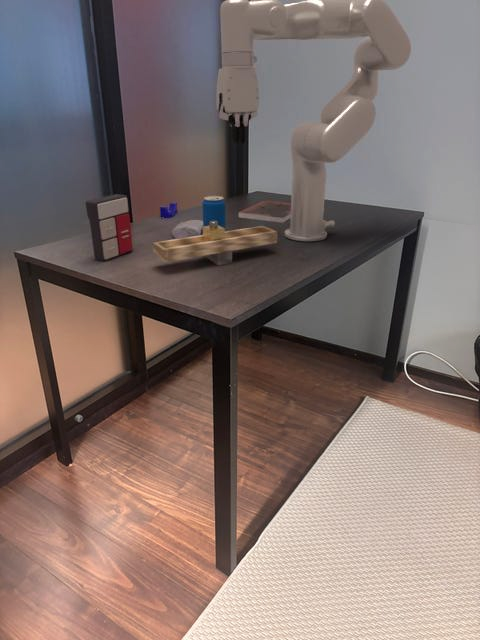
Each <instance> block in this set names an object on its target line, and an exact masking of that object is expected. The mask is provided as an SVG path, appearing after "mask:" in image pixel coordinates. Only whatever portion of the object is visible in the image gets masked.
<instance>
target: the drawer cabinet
mask: <svg viewBox="0 0 480 640" xmlns="http://www.w3.org/2000/svg"><path fill="white" fill-rule="evenodd" d="M128 201H129V200H128V196H127V195H126V194H125V195H124V194H119V193H118V194H117V193H116V194H112V195H111V194H110V195H107V196H101V197H98V198H94V199H89V200H86V201H85V208H86V216H87V218H88V220H89V225H90V232H91V233H90V234H91V239H92V247H93V248H92V249H93V255H94V260H96V261H101V262H106V261H108V260H112V259H114V258H116V257H120V256H123V255H124V254H127V253H130V252H132V251H133V238H132V226H131V218H130V217H131V216H130V211H129V202H128Z"/></svg>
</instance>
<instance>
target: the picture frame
mask: <svg viewBox="0 0 480 640" xmlns="http://www.w3.org/2000/svg"><path fill="white" fill-rule="evenodd" d="M238 218H242V219H249V220H250V219H251V220H257V221H267V222H273V223H285V222H286V221H288V220H290V218H291V202H290V203H289V202H280V201H272V200H263V201H260V202H259V203H256V204H254V205H251V206H249V207H247V208H245V209H243V210H241V211H239V212H238Z"/></svg>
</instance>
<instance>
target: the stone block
mask: <svg viewBox="0 0 480 640" xmlns="http://www.w3.org/2000/svg"><path fill="white" fill-rule="evenodd" d="M171 234H172V237H173V238H174V239H180V238H186V237H193V236H199V235H203V220H200V219H190V220H186V221H181V222H180V223H178V224H177V225H176V226H175V227H174V228H173V229H172V231H171Z"/></svg>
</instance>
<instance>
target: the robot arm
mask: <svg viewBox="0 0 480 640" xmlns="http://www.w3.org/2000/svg"><path fill="white" fill-rule="evenodd" d="M219 10H220V12H219V13H220V35H221V36H220V40H221V41H220V42H221V68H219V69H218V74H217V80H216V93H215V94H216V97H215V98H216V99H215V101H216V103H215V104H216V110H217V112H218V113H219V114H218V117H219V119H220V120H224V121H225V120H226V121H227V122H228V123H229V125H230V127H231V128H232V130H231V131H232V132H231V133H232V142H233V144H238V145H240V144H246V134H247V133H246V132H247V131H246V130H247V129H246V127H248V123H249V122H250V121H251V119H253V118H257V117H258V109H259V105H260V104H259V102H260V101H259V84H258V76H257V70H256V68H255V67H254V64H255V63H257V61H258V59H257V58H258V57H257V56H254V41H260V40H261V41H265V40H266V41H268V40H270V41H272V40H273V41H274V40H275V41H276V40H298V41H299V40H300V41H301V40H302V41H303V40H304V41H305V40H306V41H309V40H331V39H333V40H334V39H335V40H337V39H338V40H341V39H343V40H345V39H346V40H347V39H356V38H362V40H360V42H359V43H358V45H356V48H355V51H354V53H353V54H354V55H353V73H352V75H351V78H350V79H349V81H348V82H347V83H346V84H345V85H344V86H343V87H342V88H341V89H340V90H339V91H338V92H337V93H336V94H335V95H334V96H333V97H332V98H331V99H330V100H329V101H327V103H325V105H324V107H323V108H322V110H321V113H320V122H316V121H315V122H314V121H307V122H303V123H301V124H299V125H298V126H296V128H295V129H294V130H293V132H292V134H291V139H290V152H291V160H292V181H291V197H290V198H291V199H290V200H291V201H290V203H291V218H290V219H289V220H290V221H289V223H290V225H289V228H287V229H285V230H284V236H285V238H287V239H289V240H293V241H298V242H318V241H323V240H325V239H326V238H327V236H328V233H327V231H326V229H328V228H333V227H335V226H336V225H335V224H336V222H335V220H334V219H333V220H328V221H326V220H325V219H324V208H325V199H326V198H325V196H326V184H327V168H326V164H325V163H328V164H330V163H331V164H332V163H335V162H337V161H339V160H341V159H342V158H343V157H345V156H346V155H347V154H348V153H349V152H350V151H351V150H352V149H353V148H354V147H355V146H356V144H358V143H359V142H360V141H361V140H362V139H363V138H364V137H365V136H366V135H367V134H368V133H369V132H370V130H371V129H372V127H373V125H374V122H375V119H376V113H377V111H376V106H375V103H374V102H373V101H374V99H375V98H376V96H377V94H378V89H379V71H392V70H398V69H400V68H402V67H403V66H405V65H406V64H407V62H408V60H409V59H410V56H411V51H412V48H411V47H412V45H411V40H410V38H409V36H408V34H407V32H406V31H405V28H404V27H403V26H402V24H401V22H400V21H399V19H398V18H397V16H396V15H395V13H394V12H393V10H392V9H391V8H390V6H389V5H388V4H387V2H386V1H385V0H302V1H298V2H294V3H289V4H287V3H286V4H283V2H281V1H280V0H224V1H223V2H222V3H221V5H220V9H219ZM364 37H365V38H364Z"/></svg>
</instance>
